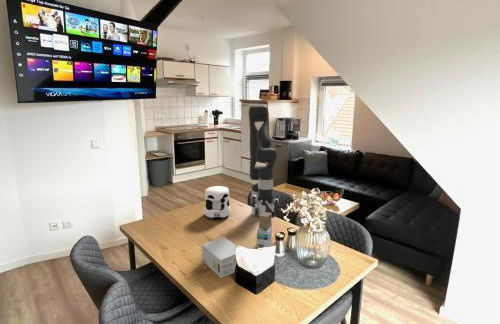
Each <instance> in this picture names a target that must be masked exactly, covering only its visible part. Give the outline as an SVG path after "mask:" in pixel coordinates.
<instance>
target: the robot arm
mask: <svg viewBox="0 0 500 324" xmlns="http://www.w3.org/2000/svg"><path fill="white" fill-rule="evenodd" d="M269 115H270V113H269V108H268V105H264V104H263V105H261V104H259V105H251V106H249V109H248V122H249V124H248V125H249V156H250V157H249V159H250V160H249V178H250V180H251V181H258V182H257V183H254V184H252V186H251V216H253V217H256V218H259V215H260V214H261V213H262V212H266V209H267V208H266V207H269V208H268V209H270V210H271V213H272V219H274V218H275V217H276V212H278V211H279V210H280V199H279V198H278V197H277V198H274V167H275V164H276V161H277V158H278V152H277V150H276V149H275V148H273V147H271V146H272V140H271V139H272V138H271V135H270V116H269ZM256 123H262V124H261V126H260V127H259V128H258V127H257V125H256ZM257 162H258V163H268V164H266V165H257Z"/></svg>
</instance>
